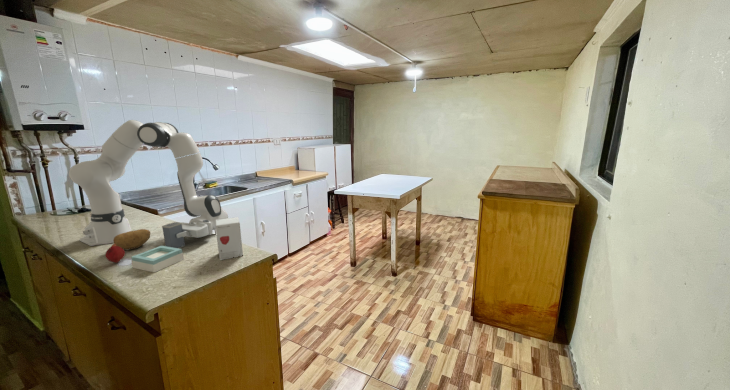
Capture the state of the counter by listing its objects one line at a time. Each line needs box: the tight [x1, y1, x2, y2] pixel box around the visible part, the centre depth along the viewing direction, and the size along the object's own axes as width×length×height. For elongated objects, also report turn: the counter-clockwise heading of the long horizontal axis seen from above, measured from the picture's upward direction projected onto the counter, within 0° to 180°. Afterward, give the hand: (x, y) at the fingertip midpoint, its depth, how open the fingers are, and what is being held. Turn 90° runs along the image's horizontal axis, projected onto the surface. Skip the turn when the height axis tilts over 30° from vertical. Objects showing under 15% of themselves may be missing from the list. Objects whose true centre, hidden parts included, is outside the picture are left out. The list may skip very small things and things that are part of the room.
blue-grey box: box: [161, 221, 186, 249], centre depth 130 cm, size 4×6×11 cm
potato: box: [113, 228, 151, 250], centre depth 131 cm, size 10×14×8 cm
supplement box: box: [215, 216, 244, 261], centre depth 121 cm, size 9×9×15 cm
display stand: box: [131, 245, 185, 273], centre depth 115 cm, size 12×12×4 cm
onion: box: [105, 243, 126, 264], centre depth 115 cm, size 6×6×8 cm
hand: (171, 235), depth 129 cm, fingers closed on blue-grey box, 4 cm apart
